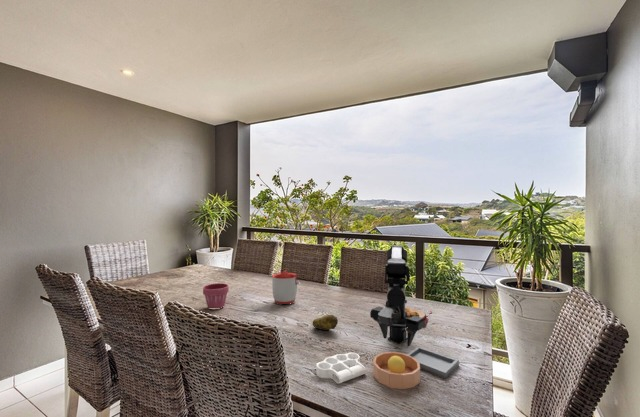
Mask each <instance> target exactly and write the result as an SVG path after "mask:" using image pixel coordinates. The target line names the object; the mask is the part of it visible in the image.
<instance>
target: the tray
mask: <svg viewBox="0 0 640 417" xmlns="http://www.w3.org/2000/svg"><path fill="white" fill-rule="evenodd" d="M406 355H409V356H412V357H414V358H415V359H416V360H417V361H418V362H419V363H420V370H423V371H426V372H428V373H430V374H433V375H436V376H438V377H441V378H443V379H446V378H448V377H449V375H451V374H452V373H453V372H454V371H455V370H457V368H458V367H459V366H460V360H459V359H456V358H453V357H451V356H448V355H444V354H442V353H439V352H437V351H432V350H429V349H427V348H423V347H421V346H417V347H416V348H414V349H413V350H410V351H409V352H408V353H406Z"/></svg>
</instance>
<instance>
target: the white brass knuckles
mask: <svg viewBox="0 0 640 417" xmlns="http://www.w3.org/2000/svg"><path fill="white" fill-rule="evenodd" d="M315 367H316V368H315V369H316V370H315V372H316V373H315V374H316V376H317V377H319V378H321V379H332V380H333V381H334V382H335V383H336V384H342V383H344V382H347V381H349V380H352V379H355V378H358V377H360V376H362V375H365V374H367V373H368V372H367V367H365V366H364V365H363V364H362V363H361V356H360V355H359V354H358V353H356V352H346V353H337V354H333V355H332V356H327V357H325V358H324V360H322V361H319V362H317V363H316V365H315Z"/></svg>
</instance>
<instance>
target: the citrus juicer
mask: <svg viewBox="0 0 640 417" xmlns="http://www.w3.org/2000/svg"><path fill="white" fill-rule="evenodd" d="M271 277H272V284H271V285H272V287H271V288H272V290H271V291H272V295H273V300H274V302H276V303H278V304H290V303H292V304H294V303H295V300H296V298H297V294H298V285H301V282H300V280H299V279H298V274H297V273H295V272H294V273H293V272H288V271H287V270H286V269H285V270H283V271H282V272H278V273H274V274H272V275H271ZM293 302H294V303H293ZM276 303H275V304H276ZM278 304H277V305H278ZM290 305H291V304H290Z"/></svg>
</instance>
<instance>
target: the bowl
mask: <svg viewBox="0 0 640 417" xmlns="http://www.w3.org/2000/svg"><path fill="white" fill-rule="evenodd" d="M392 356H399V357H401V358H402V359H403V360H404V362H405V370H404V372H403V373H402V374H398V373H391V372H390V370H389V369H388V360H389V359H390V358H391V357H392ZM372 363H373V364H372V365H373V366H372V369H373V370H372V371H373V372H372V373H373V377H374V378H375V380H376V381H377V382H378V383H379V384H382V385H384V386H386V387H387V388H391V389H398V390H399V389H400V390H405V389H411V388H415V387H417V385H418V384H420V383H421V369H420V363H419V362H418V361H417V360H416V359H415V358H414V357H412V356H409V355H407V353H403V352H396V351H386V352H381V353H379V354H376V355H375V356H374V357H373V362H372Z"/></svg>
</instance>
